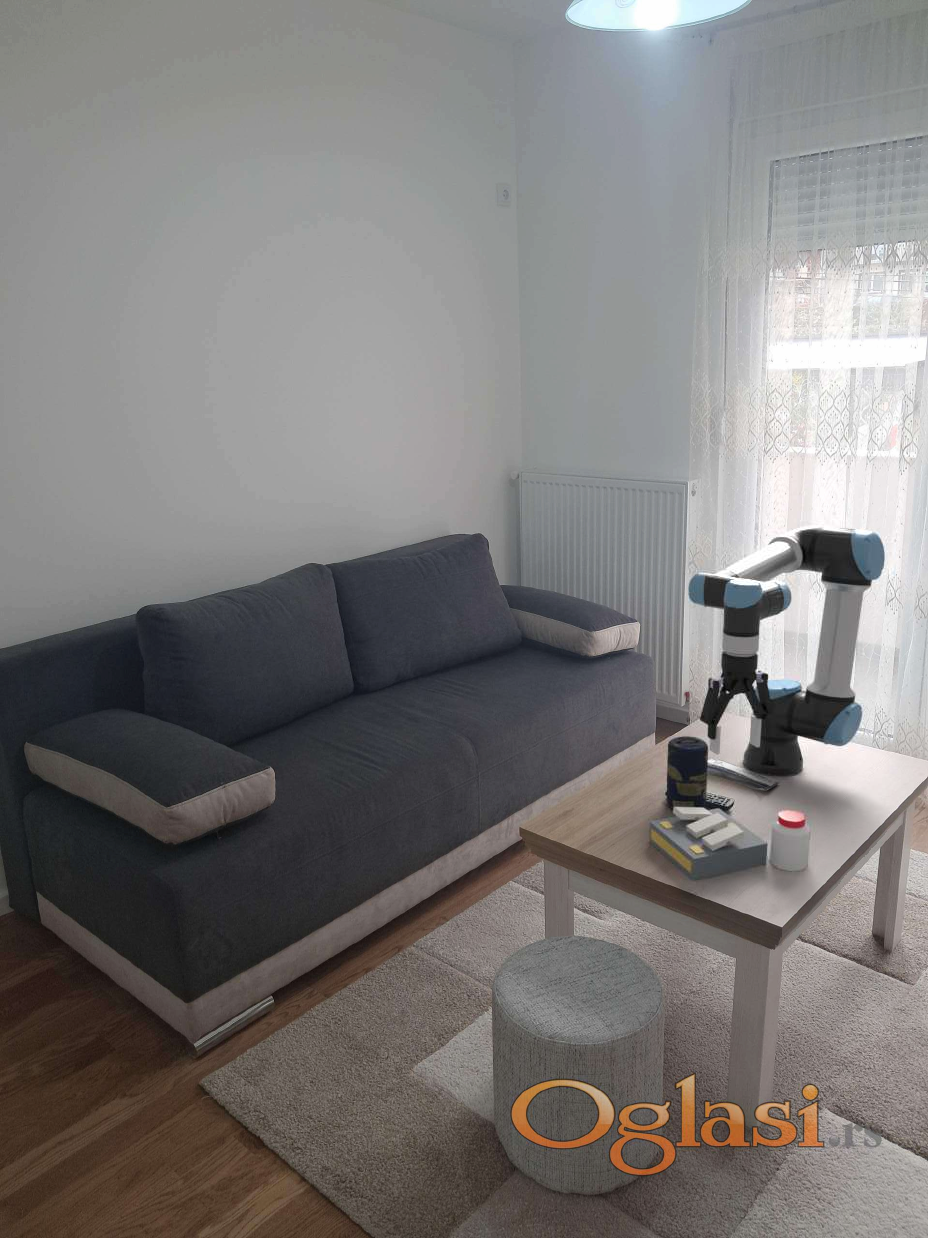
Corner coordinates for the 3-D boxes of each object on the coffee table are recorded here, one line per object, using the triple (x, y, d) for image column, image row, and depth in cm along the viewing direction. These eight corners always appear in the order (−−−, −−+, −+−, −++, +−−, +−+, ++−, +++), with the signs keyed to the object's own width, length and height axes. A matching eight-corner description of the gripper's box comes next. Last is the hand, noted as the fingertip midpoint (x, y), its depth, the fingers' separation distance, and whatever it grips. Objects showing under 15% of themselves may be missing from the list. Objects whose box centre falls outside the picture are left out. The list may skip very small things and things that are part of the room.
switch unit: (717, 828, 218) (718, 807, 217) (766, 864, 202) (767, 842, 200) (648, 842, 212) (649, 821, 211) (692, 880, 196) (693, 858, 194)
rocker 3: (733, 830, 203) (732, 823, 202) (745, 839, 199) (744, 832, 199) (702, 843, 201) (701, 837, 200) (713, 853, 197) (712, 846, 197)
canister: (706, 817, 223) (709, 746, 219) (665, 814, 225) (668, 744, 220) (704, 800, 232) (708, 731, 228) (665, 797, 234) (667, 729, 230)
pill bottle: (764, 854, 206) (767, 808, 203) (798, 852, 206) (801, 806, 203) (778, 872, 198) (781, 825, 195) (814, 870, 199) (817, 822, 196)
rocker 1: (701, 814, 214) (703, 807, 214) (711, 822, 210) (713, 815, 210) (671, 813, 211) (673, 806, 211) (681, 821, 208) (683, 814, 207)
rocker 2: (717, 818, 208) (716, 812, 208) (728, 826, 205) (727, 820, 204) (686, 831, 206) (685, 825, 206) (697, 840, 203) (696, 833, 202)
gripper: (772, 641, 209) (766, 735, 215) (685, 653, 202) (681, 750, 208) (794, 650, 202) (787, 747, 208) (704, 662, 195) (700, 762, 201)
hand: (734, 748), depth 208 cm, fingers open, 10 cm apart
